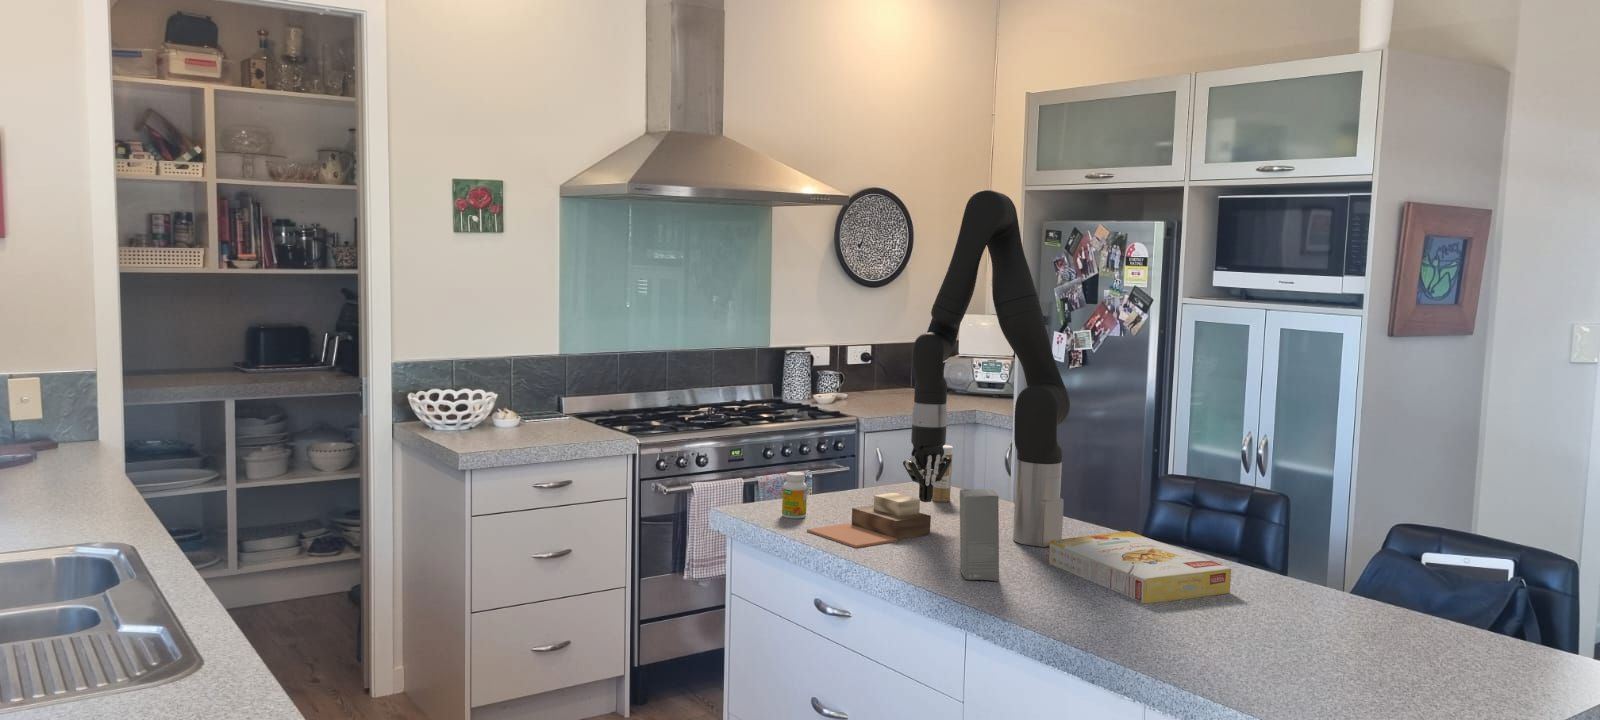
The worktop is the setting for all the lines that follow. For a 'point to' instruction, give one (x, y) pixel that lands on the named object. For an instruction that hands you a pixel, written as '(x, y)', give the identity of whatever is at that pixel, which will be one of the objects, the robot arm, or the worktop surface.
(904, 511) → the birch block
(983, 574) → the skincare box
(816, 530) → the terracotta mat
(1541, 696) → the worktop surface
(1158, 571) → the cereal box
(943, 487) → the sprinkles bottle
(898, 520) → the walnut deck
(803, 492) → the supplement bottle
